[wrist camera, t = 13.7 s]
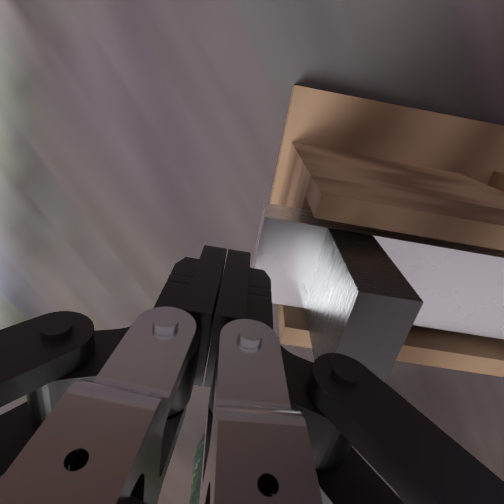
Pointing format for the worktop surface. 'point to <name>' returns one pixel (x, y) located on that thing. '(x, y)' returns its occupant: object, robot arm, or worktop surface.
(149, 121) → the worktop surface
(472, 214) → the mount
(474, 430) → the worktop surface
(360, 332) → the grey angular block
